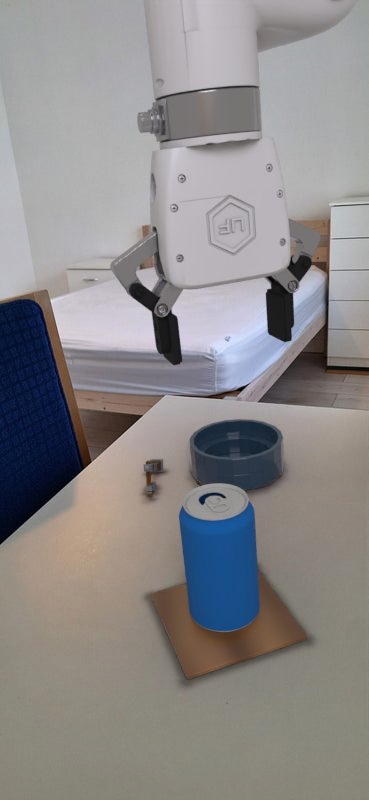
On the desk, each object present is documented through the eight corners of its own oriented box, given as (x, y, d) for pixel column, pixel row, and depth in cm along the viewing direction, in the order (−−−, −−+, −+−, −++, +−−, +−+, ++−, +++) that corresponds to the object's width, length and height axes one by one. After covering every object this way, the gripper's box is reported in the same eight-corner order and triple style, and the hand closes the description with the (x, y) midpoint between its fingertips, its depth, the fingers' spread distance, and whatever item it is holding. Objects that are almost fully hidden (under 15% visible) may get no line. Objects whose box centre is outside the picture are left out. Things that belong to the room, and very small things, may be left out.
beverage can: (241, 581, 59) (233, 474, 54) (273, 623, 53) (267, 507, 49) (179, 602, 57) (166, 492, 52) (206, 648, 51) (194, 529, 47)
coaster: (254, 566, 61) (254, 563, 61) (307, 639, 52) (307, 636, 51) (151, 597, 58) (151, 593, 58) (187, 680, 49) (186, 676, 48)
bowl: (259, 444, 88) (258, 412, 86) (300, 480, 77) (299, 445, 75) (181, 462, 84) (177, 430, 82) (211, 503, 73) (208, 467, 72)
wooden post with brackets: (140, 498, 74) (139, 461, 75) (151, 490, 82) (149, 457, 83) (155, 497, 74) (153, 461, 74) (164, 490, 82) (162, 457, 82)
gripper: (103, 131, 38) (138, 384, 44) (342, 108, 42) (343, 340, 49) (82, 138, 44) (116, 357, 51) (291, 118, 49) (297, 321, 55)
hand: (227, 348), depth 50 cm, fingers open, 9 cm apart
